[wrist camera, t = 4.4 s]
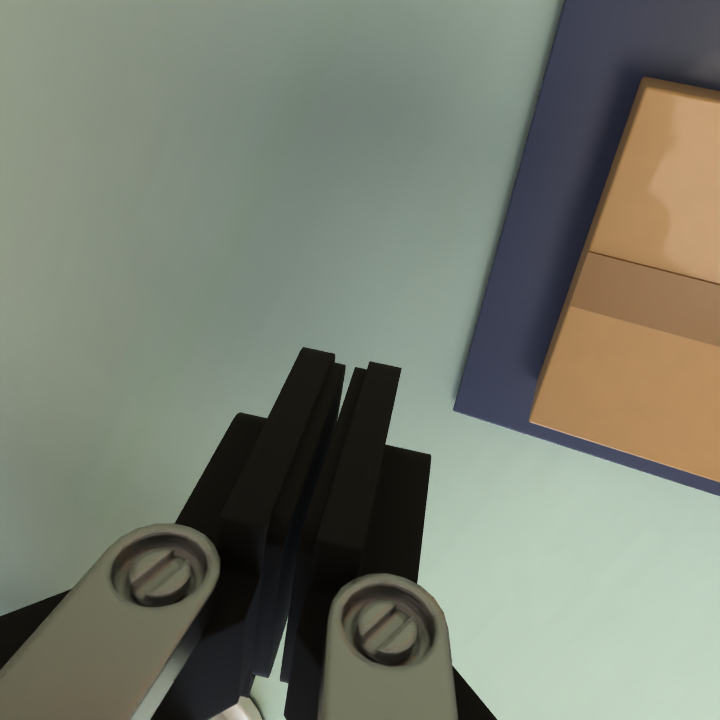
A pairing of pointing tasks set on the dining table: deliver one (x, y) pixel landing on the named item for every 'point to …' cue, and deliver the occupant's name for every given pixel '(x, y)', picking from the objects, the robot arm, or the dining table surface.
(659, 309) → the cardboard box
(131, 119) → the dining table surface
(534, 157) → the sloping board
